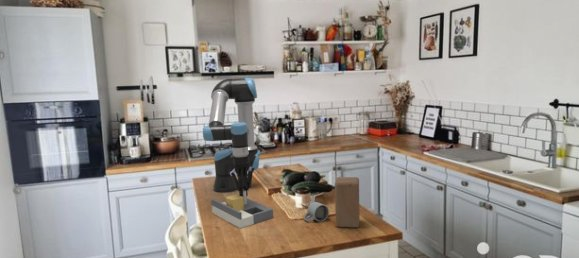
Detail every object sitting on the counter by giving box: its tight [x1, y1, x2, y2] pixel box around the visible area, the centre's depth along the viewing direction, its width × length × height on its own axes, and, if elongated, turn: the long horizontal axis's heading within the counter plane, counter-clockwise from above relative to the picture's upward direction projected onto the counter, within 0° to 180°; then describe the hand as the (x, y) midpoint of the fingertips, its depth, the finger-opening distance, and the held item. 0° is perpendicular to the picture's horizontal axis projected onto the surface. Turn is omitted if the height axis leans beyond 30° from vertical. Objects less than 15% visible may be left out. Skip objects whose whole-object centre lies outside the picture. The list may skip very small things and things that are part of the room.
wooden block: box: [334, 176, 360, 228], centre depth 168 cm, size 10×10×20 cm
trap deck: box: [211, 198, 274, 229], centre depth 184 cm, size 18×26×7 cm
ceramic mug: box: [303, 201, 330, 223], centre depth 175 cm, size 11×8×8 cm
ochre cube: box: [225, 194, 244, 211], centre depth 181 cm, size 6×6×6 cm
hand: (244, 203), depth 184 cm, fingers closed
